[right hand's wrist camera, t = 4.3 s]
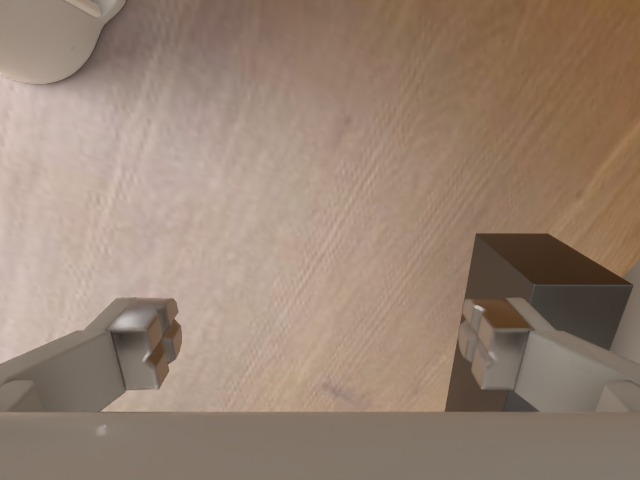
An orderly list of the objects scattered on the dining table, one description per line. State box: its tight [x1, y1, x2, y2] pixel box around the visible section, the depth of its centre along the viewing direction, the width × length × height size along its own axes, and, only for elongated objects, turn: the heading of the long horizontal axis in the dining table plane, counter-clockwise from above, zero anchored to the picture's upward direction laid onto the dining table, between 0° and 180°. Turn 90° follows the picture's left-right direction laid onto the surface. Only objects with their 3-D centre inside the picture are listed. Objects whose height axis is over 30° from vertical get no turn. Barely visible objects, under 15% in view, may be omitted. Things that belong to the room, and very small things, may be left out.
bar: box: [445, 234, 633, 412], centre depth 30 cm, size 27×6×9 cm, turn 0°
